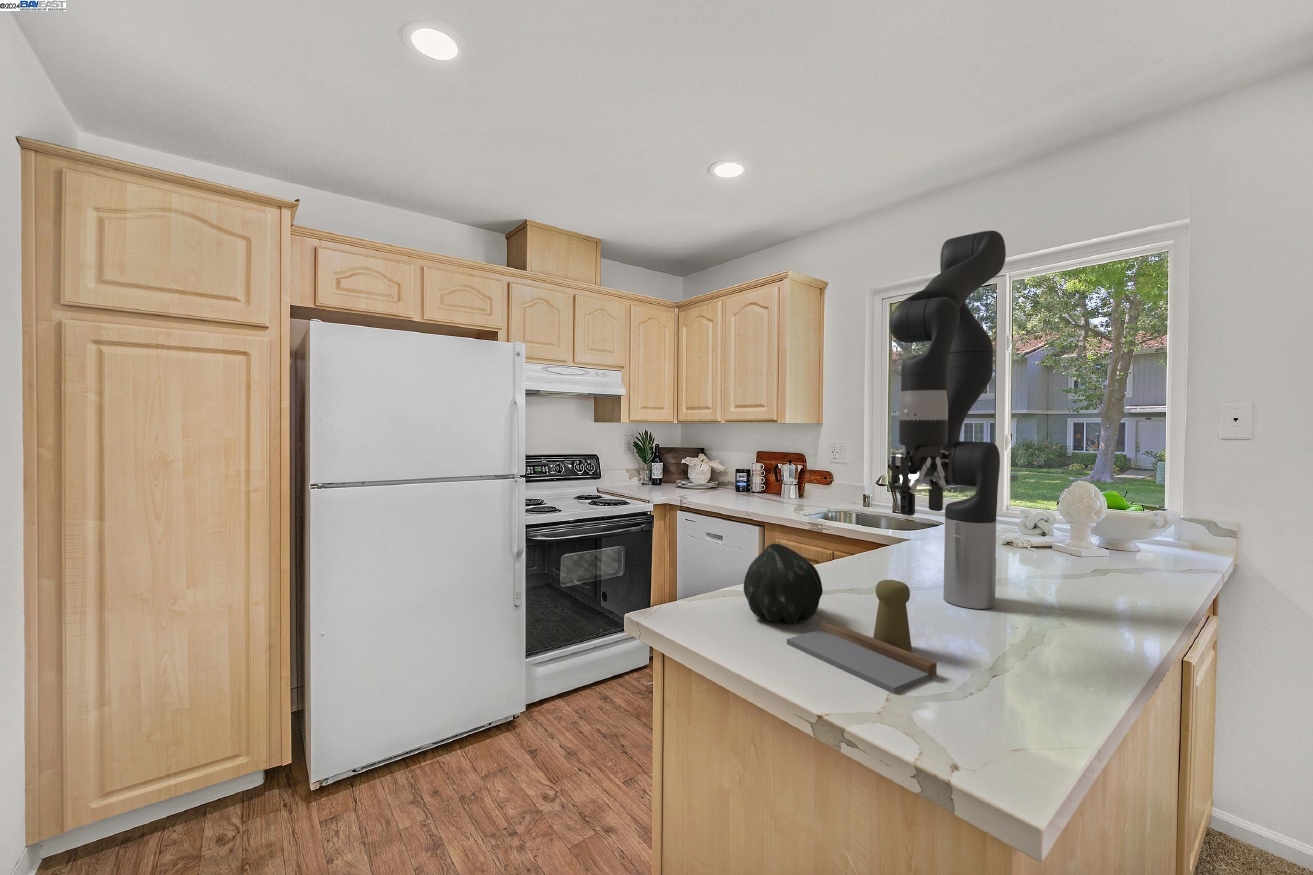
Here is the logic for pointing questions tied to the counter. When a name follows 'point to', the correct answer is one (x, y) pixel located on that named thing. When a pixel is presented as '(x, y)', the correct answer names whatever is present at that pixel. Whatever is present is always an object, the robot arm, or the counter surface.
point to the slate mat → (859, 661)
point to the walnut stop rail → (881, 648)
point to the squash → (782, 585)
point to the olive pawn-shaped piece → (893, 614)
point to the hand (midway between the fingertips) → (922, 512)
